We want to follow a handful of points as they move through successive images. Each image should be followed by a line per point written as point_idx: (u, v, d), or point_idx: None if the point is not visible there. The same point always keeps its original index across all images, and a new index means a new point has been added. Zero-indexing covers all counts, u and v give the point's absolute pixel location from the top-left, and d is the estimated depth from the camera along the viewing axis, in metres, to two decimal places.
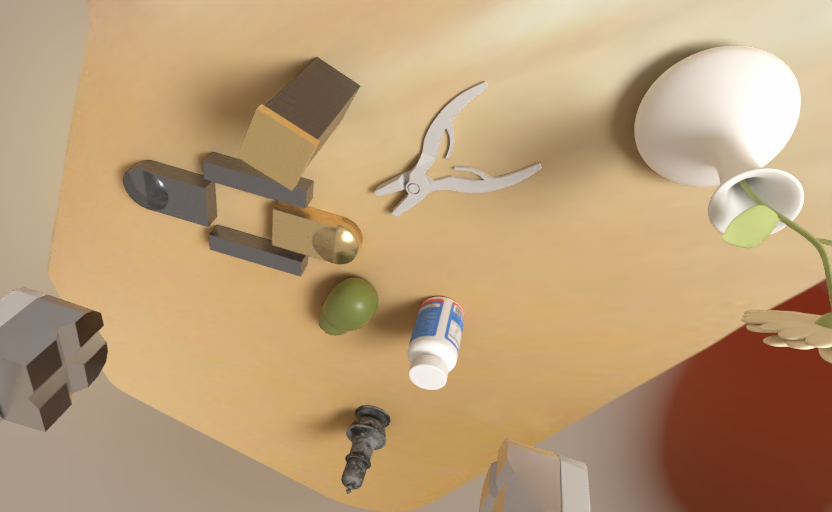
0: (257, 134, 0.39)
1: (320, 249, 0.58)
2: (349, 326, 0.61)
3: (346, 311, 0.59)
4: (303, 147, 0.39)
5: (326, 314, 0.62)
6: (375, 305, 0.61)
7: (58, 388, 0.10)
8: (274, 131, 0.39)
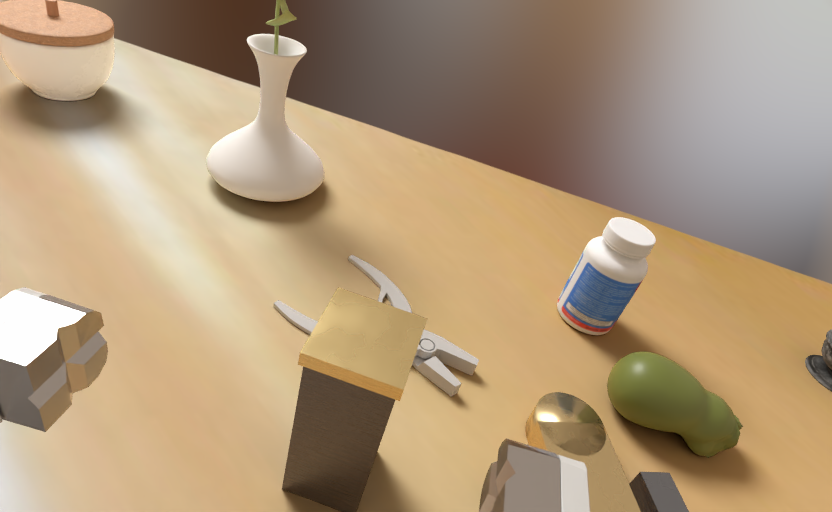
0: (346, 354, 0.24)
1: (592, 442, 0.36)
2: (677, 365, 0.40)
3: (654, 367, 0.39)
4: (346, 300, 0.27)
5: (693, 406, 0.38)
6: None
7: (58, 388, 0.10)
8: (333, 332, 0.25)
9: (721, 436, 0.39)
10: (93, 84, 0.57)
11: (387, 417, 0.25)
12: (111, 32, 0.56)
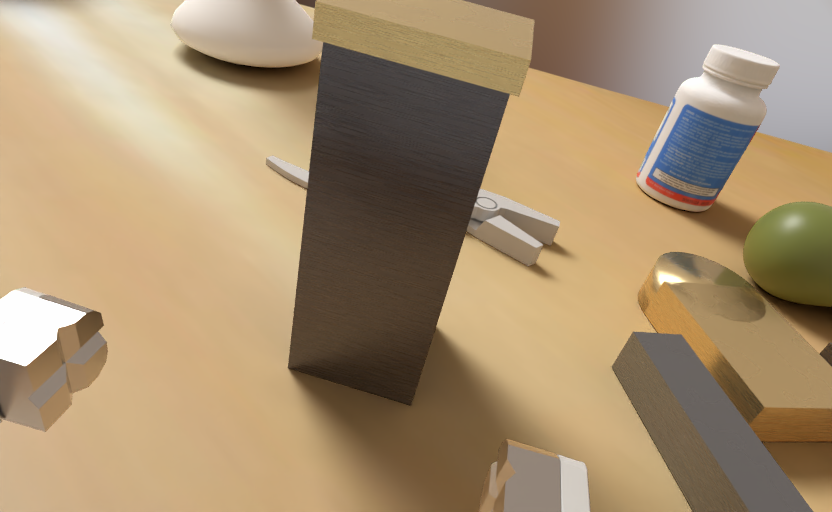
0: (407, 17, 0.12)
1: (749, 307, 0.24)
2: None
3: (823, 212, 0.27)
4: None
5: None
6: None
7: (58, 388, 0.10)
8: None
9: None
10: None
11: (486, 156, 0.13)
12: None
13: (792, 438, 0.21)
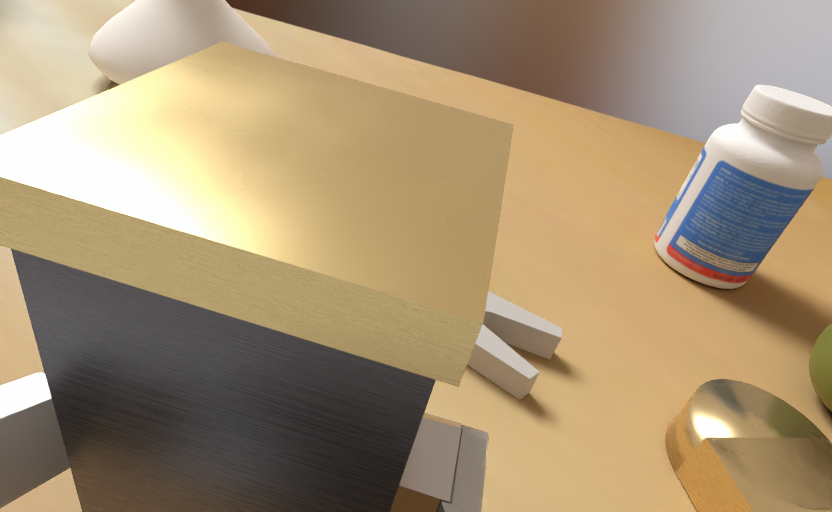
0: (199, 183, 0.05)
1: (826, 478, 0.17)
2: None
3: None
4: (241, 65, 0.08)
5: None
6: None
7: None
8: (160, 119, 0.06)
9: None
10: None
11: (399, 463, 0.06)
12: None
13: None
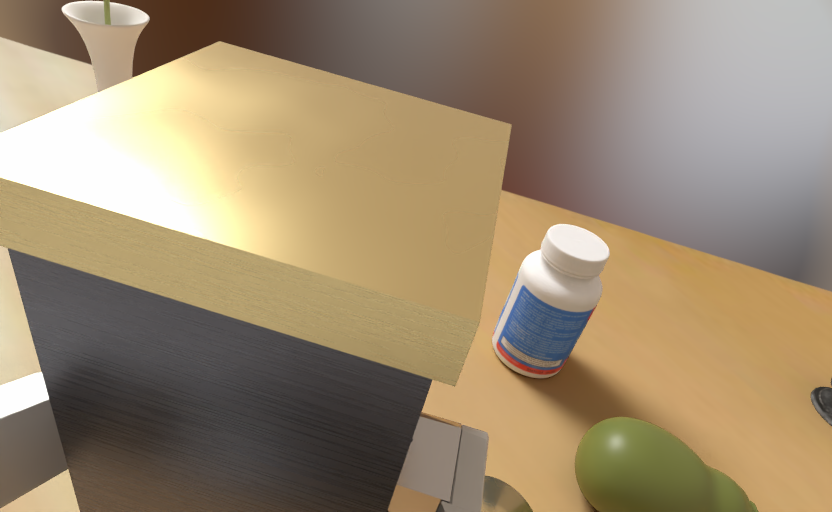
0: (195, 181, 0.05)
1: None
2: (668, 437, 0.29)
3: (636, 444, 0.28)
4: (239, 64, 0.08)
5: (694, 499, 0.27)
6: None
7: None
8: (157, 119, 0.06)
9: None
10: None
11: (397, 463, 0.06)
12: None
13: None
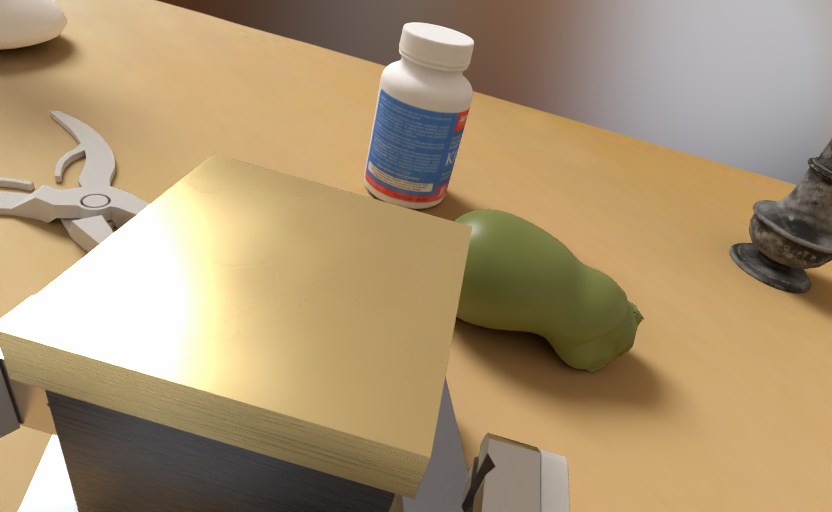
0: (200, 329, 0.06)
1: None
2: (532, 225, 0.25)
3: (487, 222, 0.23)
4: (232, 181, 0.09)
5: (552, 279, 0.23)
6: None
7: None
8: (164, 260, 0.07)
9: (604, 330, 0.23)
10: None
11: None
12: None
13: None
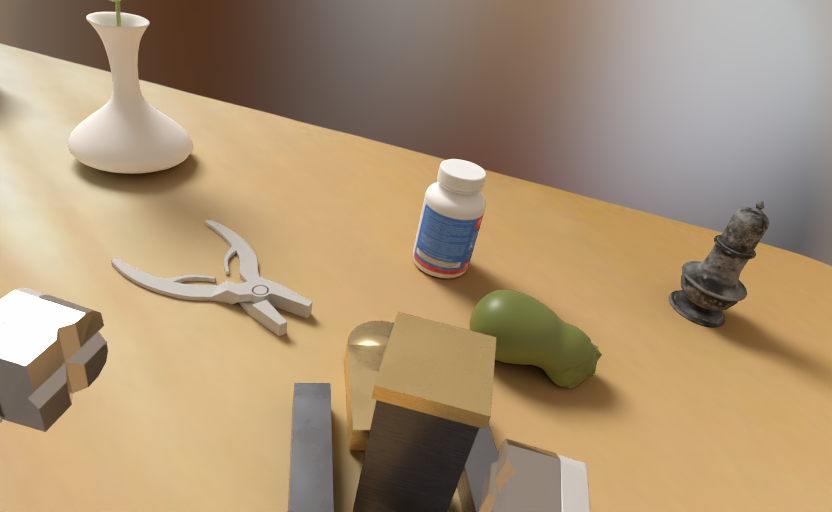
0: (422, 383, 0.22)
1: None
2: (532, 299, 0.40)
3: (505, 300, 0.39)
4: (409, 325, 0.25)
5: (544, 334, 0.38)
6: None
7: (58, 388, 0.10)
8: (403, 360, 0.23)
9: (576, 363, 0.39)
10: None
11: (469, 448, 0.23)
12: None
13: None
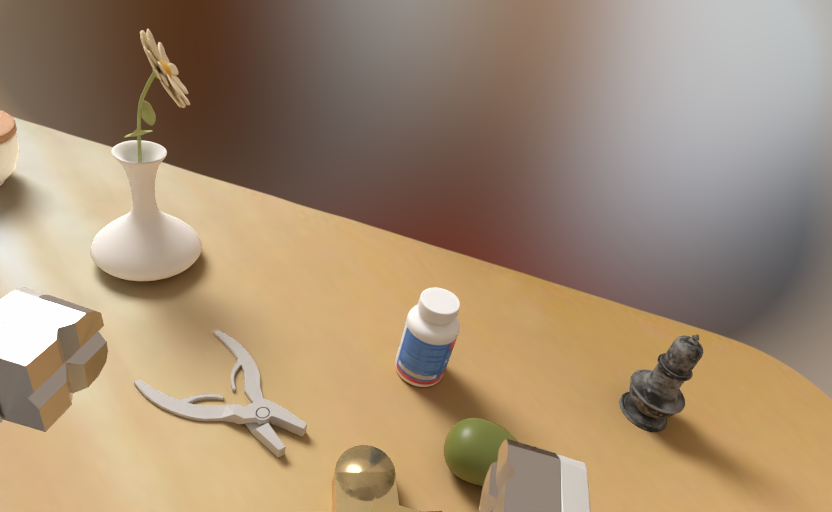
0: None
1: (380, 488, 0.44)
2: (497, 429, 0.48)
3: (474, 434, 0.46)
4: None
5: None
6: None
7: (58, 388, 0.10)
8: None
9: None
10: None
11: None
12: (11, 133, 0.64)
13: None
